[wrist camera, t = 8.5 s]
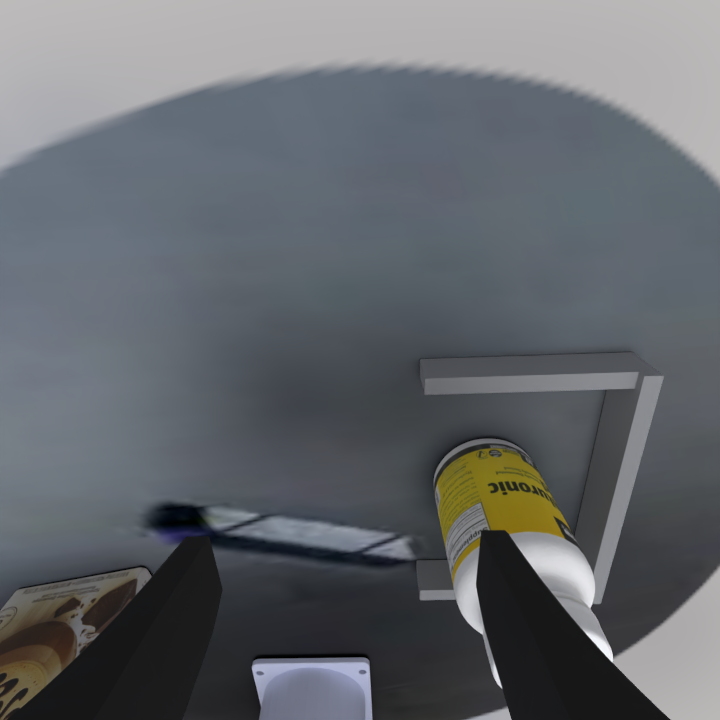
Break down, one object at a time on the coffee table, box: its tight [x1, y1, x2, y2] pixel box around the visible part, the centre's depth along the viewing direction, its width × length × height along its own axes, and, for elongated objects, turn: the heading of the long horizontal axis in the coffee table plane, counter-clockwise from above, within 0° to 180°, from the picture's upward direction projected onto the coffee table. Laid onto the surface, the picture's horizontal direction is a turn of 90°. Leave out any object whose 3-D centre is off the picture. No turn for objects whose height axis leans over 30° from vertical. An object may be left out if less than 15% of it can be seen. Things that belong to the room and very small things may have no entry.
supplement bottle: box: [433, 438, 613, 688], centre depth 19 cm, size 5×5×10 cm
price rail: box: [416, 352, 664, 604], centre depth 22 cm, size 14×10×2 cm
